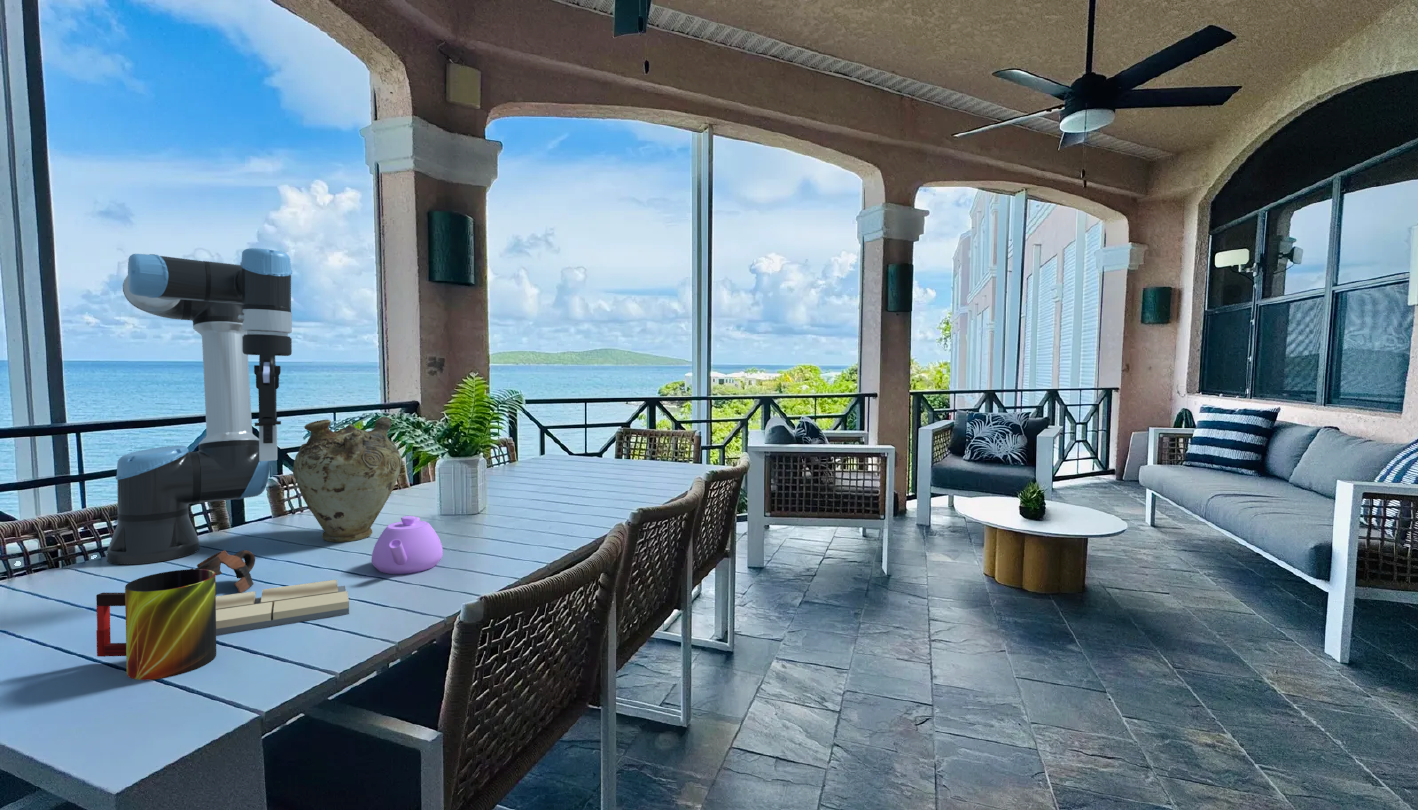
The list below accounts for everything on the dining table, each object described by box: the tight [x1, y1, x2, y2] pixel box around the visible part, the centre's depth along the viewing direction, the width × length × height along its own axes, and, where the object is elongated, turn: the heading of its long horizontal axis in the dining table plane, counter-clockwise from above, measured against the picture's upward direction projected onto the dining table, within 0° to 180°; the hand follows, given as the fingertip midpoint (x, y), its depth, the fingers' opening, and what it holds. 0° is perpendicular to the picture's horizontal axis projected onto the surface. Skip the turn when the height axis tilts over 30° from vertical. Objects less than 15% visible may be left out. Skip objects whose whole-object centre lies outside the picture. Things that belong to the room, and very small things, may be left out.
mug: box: [95, 568, 217, 681], centre depth 87 cm, size 10×14×12 cm
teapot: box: [371, 515, 444, 575], centre depth 134 cm, size 14×20×11 cm
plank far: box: [260, 579, 338, 608], centre depth 112 cm, size 6×11×1 cm, turn 123°
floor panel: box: [216, 585, 350, 636], centre depth 106 cm, size 13×26×2 cm, turn 123°
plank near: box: [216, 590, 256, 610], centre depth 105 cm, size 6×11×1 cm, turn 123°
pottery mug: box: [190, 549, 256, 593], centre depth 119 cm, size 12×10×8 cm
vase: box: [292, 416, 402, 543], centre depth 155 cm, size 23×23×30 cm
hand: (268, 460), depth 118 cm, fingers closed
